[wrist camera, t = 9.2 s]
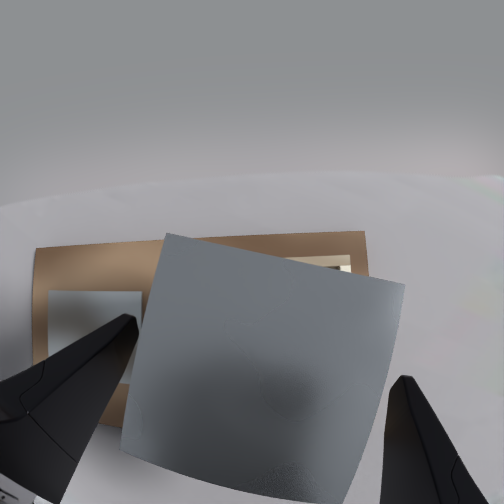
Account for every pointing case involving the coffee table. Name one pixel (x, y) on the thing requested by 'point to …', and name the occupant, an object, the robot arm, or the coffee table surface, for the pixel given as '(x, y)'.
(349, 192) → the coffee table surface
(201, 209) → the coffee table surface
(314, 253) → the wooden board
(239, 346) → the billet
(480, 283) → the coffee table surface
